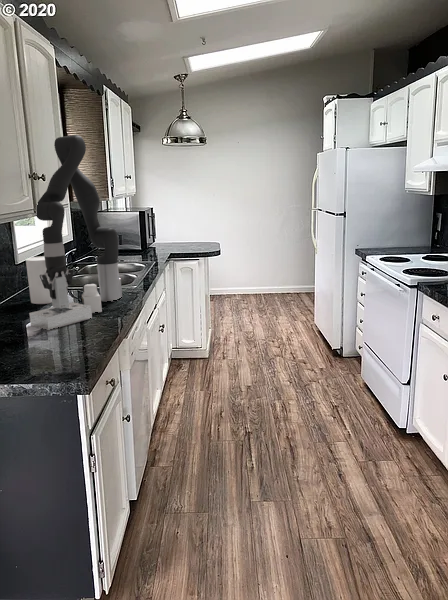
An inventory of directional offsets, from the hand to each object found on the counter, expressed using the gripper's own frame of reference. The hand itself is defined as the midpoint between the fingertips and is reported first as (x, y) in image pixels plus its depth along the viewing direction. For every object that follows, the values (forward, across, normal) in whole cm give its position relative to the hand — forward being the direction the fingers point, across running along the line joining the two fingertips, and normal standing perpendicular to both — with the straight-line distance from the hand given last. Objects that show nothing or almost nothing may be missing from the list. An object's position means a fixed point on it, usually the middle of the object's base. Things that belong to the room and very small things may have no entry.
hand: (59, 297), depth 200 cm
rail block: (+10, 0, 0) cm, 10 cm away
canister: (+10, -18, -39) cm, 44 cm away
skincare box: (+4, 0, 0) cm, 4 cm away
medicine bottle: (+10, -17, -3) cm, 20 cm away
